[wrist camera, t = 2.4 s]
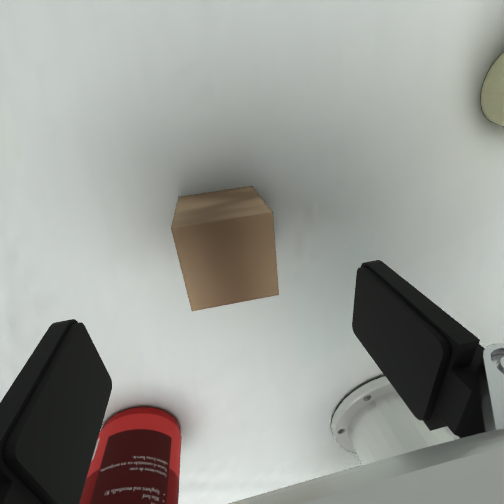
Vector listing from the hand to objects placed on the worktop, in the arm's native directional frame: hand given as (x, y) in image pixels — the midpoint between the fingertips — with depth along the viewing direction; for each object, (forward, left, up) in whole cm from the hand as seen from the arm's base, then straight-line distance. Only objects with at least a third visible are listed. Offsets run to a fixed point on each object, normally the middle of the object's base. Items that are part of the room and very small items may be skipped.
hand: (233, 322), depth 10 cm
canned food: (+11, +21, -12) cm, 26 cm away
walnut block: (0, +1, -11) cm, 11 cm away
